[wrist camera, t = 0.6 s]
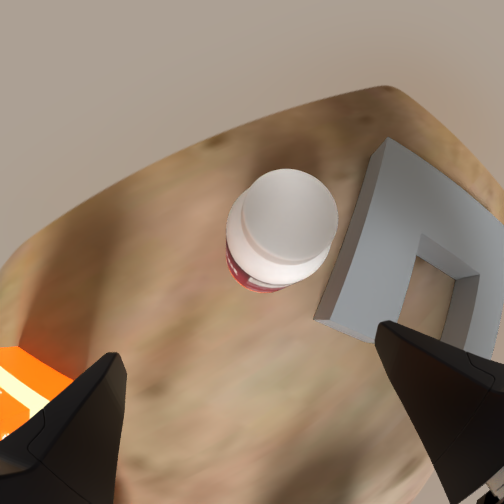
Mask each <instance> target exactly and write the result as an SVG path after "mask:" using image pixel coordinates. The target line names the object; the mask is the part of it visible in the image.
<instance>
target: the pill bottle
mask: <svg viewBox="0 0 504 504" xmlns="http://www.w3.org/2000/svg"><path fill="white" fill-rule="evenodd" d="M337 227H338V210H337V206H336V203H335V200H334V198H333V196H332V195H331V193H330V191H329V190H328V189H327V188H326V186H325V185H324V184H323V183H322V182H320V181H319V180H318V179H316V178H315V177H313V176H312V175H310V174H308V173H305V172H303V171H299V170H294V169H278V170H274V171H271V172H268V173H266V174H264V175H262V176H261V177H259V178H258V179H257V180H256V181H255V182H254V183H253V184H252V185H251V187H250V188H248V189H247V190H245V191H244V192H243V193H242V194H241V195H240V196H239V197H238V198H237V199H236V201H235V202H234V204H233V206H232V207H231V210H230V212H229V215H228V219H227V223H226V261H227V265H228V268H229V270H230V272H231V274H232V276H233V277H234V279H235V280H236V281H237V282H238V283H239V284H240V285H242V286H243V287H245V288H247V289H249V290H251V291H254V292H259V293H270V292H275V291H278V290H281V289H283V288H285V287H287V286H290V285H292V284H294V283H296V282H299V281H301V280H303V279H305V278H307V277H308V276H310V275H311V274H313V273H314V272H315V271H316V270H317V269H318V268H319V267H320V266H321V265H322V263H323V262H324V260H325V259H326V257H327V255H328V253H329V250H330V246H331V242H332V240H333V239H334V237H335V234H336V231H337Z"/></svg>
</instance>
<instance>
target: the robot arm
mask: <svg viewBox="0 0 504 504" xmlns="http://www.w3.org/2000/svg"><path fill="white" fill-rule="evenodd" d="M374 343H375V347H376V350H377V352H378V354H379V357H380V359H381V361H382V364H383V366H384V368H385V371H386V373H387V376H388V378H389V380H390V382H391V384H392V385H393V387H394V389H395V391H396V393H397V395H398V396H399V398H400V400H401V402H402V404H403V406H404V408H405V410H406V412H407V413H408V415H409V417H410V419H411V421H412V423H413V425H414V427H415V429H416V431H417V433H418V435H419V437H420V439H421V441H422V443H423V445H424V447H425V449H426V451H427V453H428V455H429V457H430V460H431V462H432V464H433V466H434V468H435V470H436V472H437V475H438V477H439V479H440V481H441V484H442V486H443V488H444V490H445V493H446V495H447V497H448V500H449V502H450V504H459V503H460V502H461V501H463V500H464V499H466V498H467V497H468V496H470V495H471V494H472V493H474V492H475V491H476V490H478V489H479V488H480V487H481V486H483V485H484V484H485V483H486V484H487V486H488V488H489V489H490V490H489V491H488V492H487V493H486V494H484V495H483V496H482V497H481V498H480V499H478V500H477V503H476V504H504V364H501V363H498V362H494V361H492V360H489V359H486V358H483V357H480V356H477V355H475V354H472V353H470V352H466V351H465V350H462V349H460V348H457V347H455V346H452V345H450V344H447V343H445V342H442V341H440V340H437V339H435V338H432V337H430V336H427V335H425V334H422V333H420V332H418V331H415V330H413V329H410V328H408V327H405V326H403V325H400V324H398V323H396V322H393V321H391V320H386V321H382V322H380V323H379V324H378V327H377V331H376V336H375V340H374ZM126 381H127V373H126V369H125V367H124V364H123V362H122V359H121V356H120V355H119V353H117V352H108V353H106V354H105V355H103V356H102V357H101V358H100V359H99V360H98V361H96V362H95V363H94V364H93V365H92V366H91V367H89V368H88V369H87V370H86V371H85V372H84V373H82V374H81V375H80V376H79V377H78V378H77V379H75V380H74V381H73V382H72V383H71V384H70V385H68V386H67V387H66V388H65V389H64V390H63V391H61V392H60V393H59V394H58V395H57V396H56V397H55V398H53V399H52V400H51V401H50V402H49V403H48V404H46V405H45V406H44V407H43V408H42V409H41V410H40V411H38V412H37V413H36V414H35V415H34V416H33V417H31V418H30V419H29V420H28V421H27V422H25V423H24V424H23V425H21V426H20V427H19V428H17V429H16V430H15V431H13V432H12V433H10V434H9V435H8V436H6V437H5V438H3V439H2V440H1V441H0V504H113V501H114V488H115V478H116V469H117V460H118V453H119V445H120V438H121V432H122V425H123V419H124V411H125V395H126Z"/></svg>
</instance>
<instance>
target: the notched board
mask: <svg viewBox="0 0 504 504" xmlns="http://www.w3.org/2000/svg"><path fill="white" fill-rule="evenodd" d="M416 255H417V256H419V257H420V258H422V259H424V260H425V261H427V262H428V263H430V264H432V265H433V266H435V267H436V268H438V269H439V270H441V271H443V272H444V273H446V274H447V275H449V276H450V277H452V278H453V279H455V280H456V281H455V286H454V290H453V295H452V299H451V303H450V307H449V311H448V315H447V319H446V322H445V326H444V329H443V333H442V336H441V339H440V341H442V342H445V343H447V344H450V345H452V346H455V347H457V348H460V349H462V350H465V351H466V352H470V353H472V354H475V355H477V356H480V357H483V358H486V359H489V360H491V357H492V353H493V350H494V346H495V342H496V338H497V333H498V329H499V324H500V319H501V314H502V309H503V303H504V225H503V224H502V223H501V222H500V221H499V220H498V219H496V218H495V217H494V216H493V215H492V214H491V213H490V212H489V211H488V210H487V209H486V208H484V207H483V206H482V205H481V204H480V203H479V202H478V201H477V200H475V199H474V198H473V197H472V196H471V195H469V194H468V193H467V192H466V191H465V190H463V189H462V188H461V187H460V186H458V185H457V184H456V183H455V182H453V181H452V180H451V179H449V178H448V177H447V176H446V175H444V174H443V173H442V172H440V171H439V170H437V169H436V168H435V167H433V166H432V165H431V164H429V163H428V162H426V161H425V160H423V159H422V158H420V157H419V156H418V155H416V154H415V153H413V152H412V151H410V150H409V149H407V148H405V147H404V146H402V145H401V144H399V143H398V142H396V141H394V140H393V139H391V138H389V137H387V138H386V139H385V141H384V142H383V143H382V144H381V145H380V146H379V147H378V149H377V150H376V151H375V152H374V153H373V154H372V156H371V157H370V161H369V164H368V168H367V171H366V175H365V178H364V181H363V184H362V188H361V191H360V194H359V197H358V200H357V204H356V207H355V210H354V213H353V216H352V219H351V222H350V224H349V227H348V230H347V233H346V236H345V239H344V242H343V244H342V247H341V250H340V253H339V255H338V258H337V261H336V263H335V266H334V269H333V271H332V274H331V276H330V279H329V282H328V284H327V287H326V289H325V292H324V294H323V297H322V299H321V301H320V304H319V306H318V309H317V311H316V313H315V316H314V318H313V320H315V321H317V322H320V323H322V324H324V325H326V326H329V327H331V328H333V329H336V330H338V331H340V332H343V333H345V334H347V335H350V336H352V337H354V338H357V339H359V340H361V341H364V342H367V343H374V340H375V336H376V331H377V327H378V324H379V323H380V322H382V321H386V320H391V321H393V322H396V323H397V321H398V318H399V315H400V312H401V308H402V305H403V302H404V299H405V295H406V292H407V289H408V285H409V282H410V278H411V274H412V270H413V266H414V263H415V258H416ZM374 344H375V343H374Z"/></svg>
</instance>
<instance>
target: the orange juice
mask: <svg viewBox="0 0 504 504" xmlns="http://www.w3.org/2000/svg"><path fill="white" fill-rule="evenodd" d="M72 382H73V380H71V379H70V378H68V377H66V376H64V375H62V374H61V373H59V372H57V371H55V370H54V369H52V368H50V367H49V366H47V365H45V364H44V363H42V362H41V361H39V360H37V359H36V358H34V357H33V356H31V355H30V354H28V353H27V352H25V351H24V350H22V349H21V348H19V347H5V348H0V441H1V440H2V439H3V438H5V437H6V436H8V435H9V434H10V433H12V432H13V431H15V430H16V429H17V428H19V427H20V426H21V425H23V424H24V423H25V422H27V421H28V420H29V419H30V418H31V417H33V416H34V415H35V414H36V413H37V412H38V411H40V410H41V409H42V408H43V407H44V406H45V405H46V404H48V403H49V402H50V401H51V400H52V399H53V398H55V397H56V396H57V395H58V394H59V393H60V392H61V391H63V390H64V389H65V388H66V387H67V386H68V385H70V384H71V383H72Z"/></svg>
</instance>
